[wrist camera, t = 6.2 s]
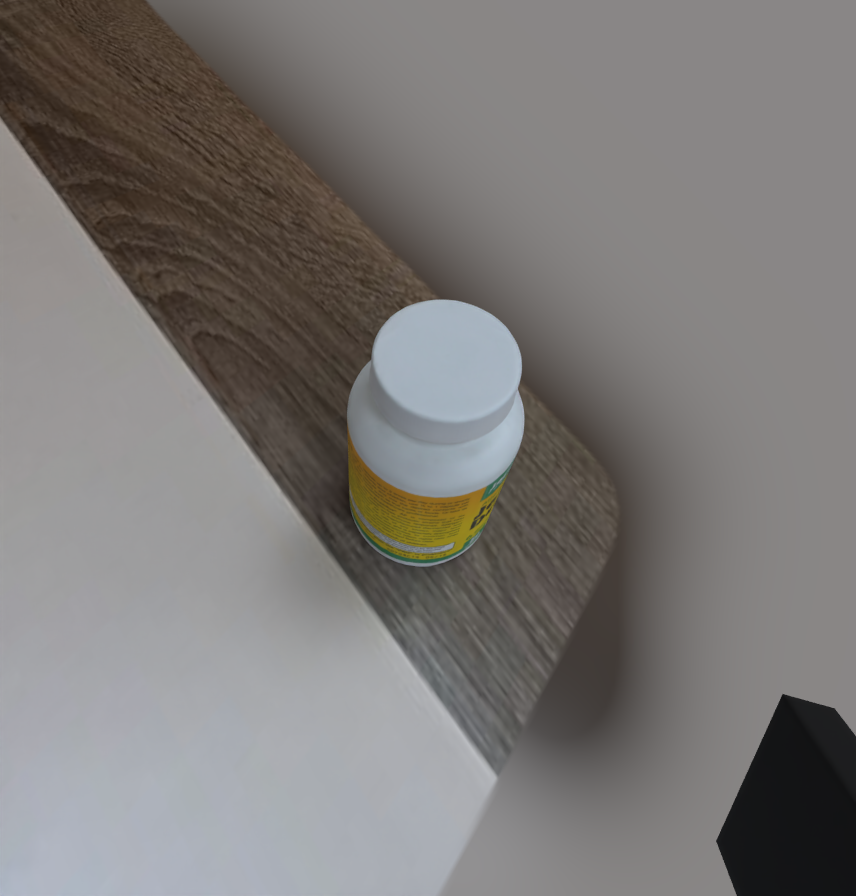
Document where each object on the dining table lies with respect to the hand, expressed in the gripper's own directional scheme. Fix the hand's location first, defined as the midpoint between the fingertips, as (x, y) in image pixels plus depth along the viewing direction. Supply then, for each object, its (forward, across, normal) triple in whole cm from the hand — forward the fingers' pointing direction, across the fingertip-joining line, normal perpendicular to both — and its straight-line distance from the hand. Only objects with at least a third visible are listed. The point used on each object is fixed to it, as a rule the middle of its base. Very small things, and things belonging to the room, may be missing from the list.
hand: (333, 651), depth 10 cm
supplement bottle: (+16, 0, -3) cm, 16 cm away
